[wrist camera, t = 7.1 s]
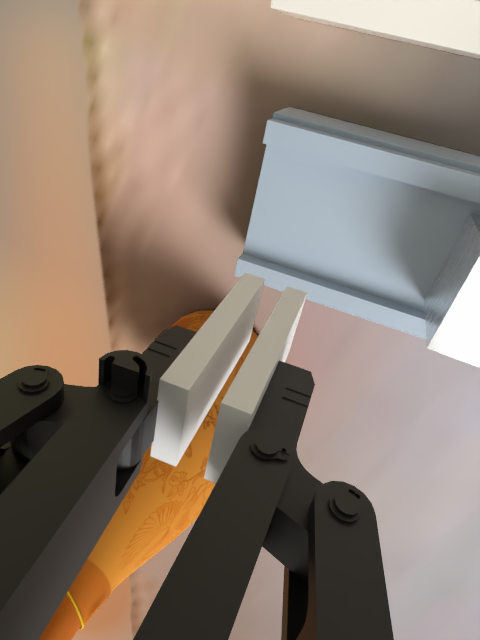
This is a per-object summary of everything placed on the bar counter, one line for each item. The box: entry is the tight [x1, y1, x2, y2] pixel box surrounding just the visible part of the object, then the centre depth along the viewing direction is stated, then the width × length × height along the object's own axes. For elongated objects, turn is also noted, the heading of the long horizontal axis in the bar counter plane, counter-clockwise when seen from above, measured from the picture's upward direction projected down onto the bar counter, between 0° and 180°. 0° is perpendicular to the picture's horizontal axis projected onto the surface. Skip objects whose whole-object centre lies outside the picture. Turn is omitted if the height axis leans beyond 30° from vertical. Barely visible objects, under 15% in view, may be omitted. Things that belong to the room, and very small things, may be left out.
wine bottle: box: [39, 310, 258, 640], centre depth 26 cm, size 10×10×30 cm
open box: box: [235, 107, 480, 339], centre depth 24 cm, size 10×22×12 cm, turn 78°
